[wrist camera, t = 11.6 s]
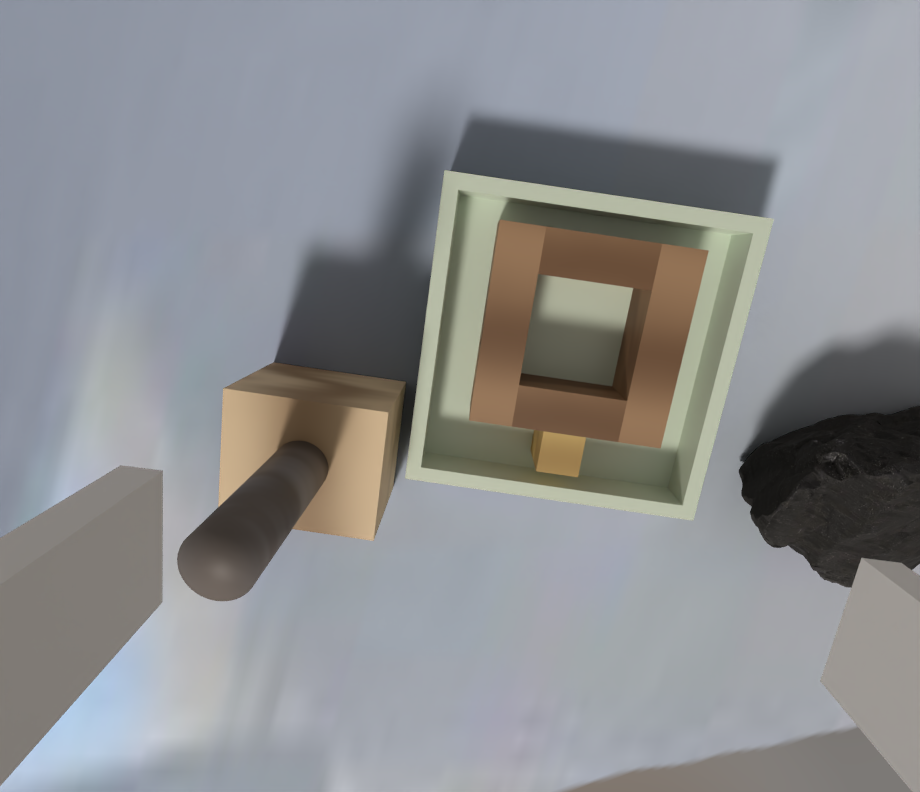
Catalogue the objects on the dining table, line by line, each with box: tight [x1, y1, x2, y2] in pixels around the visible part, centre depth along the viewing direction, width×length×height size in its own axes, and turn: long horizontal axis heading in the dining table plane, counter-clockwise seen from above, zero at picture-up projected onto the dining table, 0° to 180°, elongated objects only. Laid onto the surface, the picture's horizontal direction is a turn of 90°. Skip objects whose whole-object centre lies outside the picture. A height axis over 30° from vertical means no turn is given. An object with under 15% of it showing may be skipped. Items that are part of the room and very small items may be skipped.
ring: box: [469, 220, 709, 477], centre depth 27 cm, size 11×9×3 cm
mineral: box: [739, 406, 920, 588], centre depth 27 cm, size 10×9×6 cm
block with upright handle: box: [177, 362, 406, 601], centre depth 23 cm, size 7×6×14 cm
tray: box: [405, 170, 774, 520], centre depth 27 cm, size 14×14×3 cm
